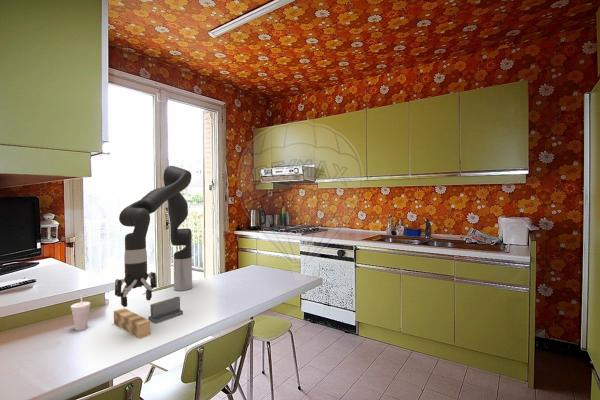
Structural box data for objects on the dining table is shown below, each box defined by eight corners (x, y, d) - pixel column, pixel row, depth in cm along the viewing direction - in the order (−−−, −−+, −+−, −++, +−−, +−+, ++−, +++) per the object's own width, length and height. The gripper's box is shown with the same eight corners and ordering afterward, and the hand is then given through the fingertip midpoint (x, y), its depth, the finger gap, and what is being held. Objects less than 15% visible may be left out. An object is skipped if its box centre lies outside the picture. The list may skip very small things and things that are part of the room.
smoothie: (78, 333, 116) (77, 297, 115) (67, 331, 118) (66, 295, 118) (95, 326, 122) (94, 291, 121) (83, 324, 124) (82, 290, 124)
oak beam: (113, 324, 124) (113, 310, 124) (124, 320, 128) (124, 307, 127) (139, 339, 111) (139, 324, 111) (150, 335, 114) (150, 320, 114)
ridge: (148, 320, 127) (148, 303, 127) (175, 311, 137) (175, 295, 137) (155, 323, 124) (155, 306, 124) (182, 314, 133) (182, 298, 133)
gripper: (150, 256, 123) (150, 296, 124) (111, 262, 112) (112, 306, 113) (159, 258, 119) (160, 299, 119) (119, 265, 108) (120, 311, 108)
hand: (136, 303), depth 116 cm, fingers open, 8 cm apart
